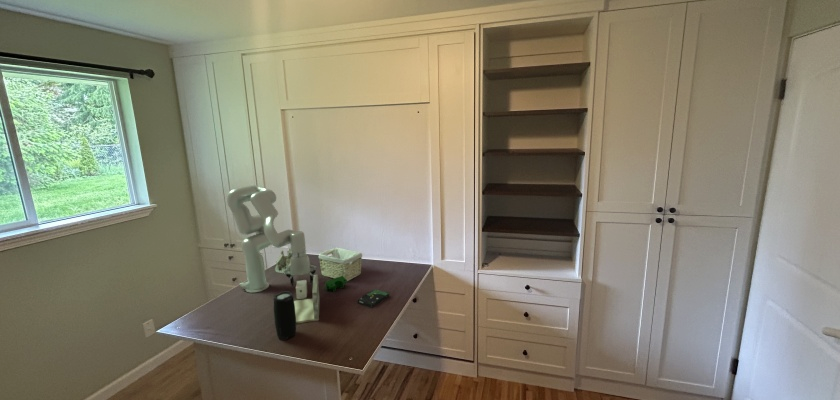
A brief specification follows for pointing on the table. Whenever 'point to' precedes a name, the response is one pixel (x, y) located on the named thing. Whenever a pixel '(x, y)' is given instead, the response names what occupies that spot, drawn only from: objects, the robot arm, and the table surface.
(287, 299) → the portable speaker
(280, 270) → the ceramic cottage
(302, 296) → the mini cabinet
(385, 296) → the disk drive
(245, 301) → the table surface
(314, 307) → the curved railed panel
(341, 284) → the clamp
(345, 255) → the storage basket
